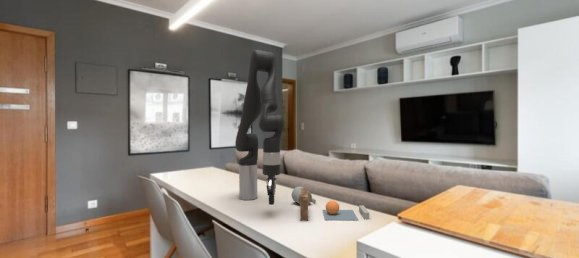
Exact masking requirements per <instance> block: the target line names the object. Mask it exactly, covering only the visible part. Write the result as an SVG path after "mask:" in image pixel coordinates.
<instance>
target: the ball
mask: <svg viewBox="0 0 579 258" xmlns="http://www.w3.org/2000/svg"><path fill="white" fill-rule="evenodd" d="M325 210H327V212H328V213H329V214H336V213H338V211H339V210H340V205H339V203H338V202H337V201H336V200H329V201H327V203H326V205H325Z"/></svg>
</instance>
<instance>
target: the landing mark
mask: <svg viewBox="0 0 579 258" xmlns="http://www.w3.org/2000/svg"><path fill="white" fill-rule="evenodd" d="M322 214H323V218H324V221H359V218H358V217H357V215H356V213H355V211H354V209H339V211H338V213H336V214H329V213H328V212H327V210H326V209H322Z"/></svg>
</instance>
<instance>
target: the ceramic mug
mask: <svg viewBox="0 0 579 258" xmlns="http://www.w3.org/2000/svg"><path fill="white" fill-rule="evenodd" d="M301 188H304V187H303V186H296V187H295V188H293V190H292V192H291V199H292V200H293V201H294V202H295V203H297V204H299V205H300V189H301ZM316 201H317V200H316V199H315V198H313V195H312V193H311V192H310V191H309V190H308V205H310V204H311V203H312V204H315V203H316Z"/></svg>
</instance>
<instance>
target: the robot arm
mask: <svg viewBox="0 0 579 258" xmlns="http://www.w3.org/2000/svg"><path fill="white" fill-rule="evenodd" d="M248 66H249V68H248V77H247V85H246V87H245V88H246V90H245V95H244V99H243V104H242V110H241V117H240V123H239V124H238V125H239V126H238V130H237V131H236V132H237V133H236V137H235V144H234V145H235V149H236V151H237V152H240V153H241V152H242V153H244V152H247V154H246V155H245V156H244V157H241V158H240V159H239V160H238V166H239V167H238V172H239V173H238V174H239V175H238V183H239V184H238V185H239V190H238V191H239V193H238V194H239V195H238V196H239V199H240V200H243V201H252V200H255V199H258V161H259V137H258V135H257V134H256V133H253V132H252V133H248V132H249V129H250V128H251V125H253V123H254V122H255V121H256V120H257V119H258V118H259V121H258V127H259V129H260V131H262V132H264V133H273V135H271V136H269V137H265V138H264V139H263V140H262V141H263V142H262V143H263V144H262V150H263V153H262V174H263V176H267V179H265V181H266V182H265V183H266V191H267V196H268V205H269V206H272V205H274V204H275V194H276V189H277V181H278V180H277V179H278V177H276V176H279V175H281V173H282V171H281V169H282V168H281V167H282V166H281V164H282V163H281V161H282V159H281V141H282V140H281V139H282V137H283V136H282V135H283V132H284V130H285V129H284V128H285V124H286V123H285V122H286V121H285V119H284V117H283V116H282V115H280V114H271V113H274V112H276V111H277V110H278V106H279V105H278V98H277V89H276V88H277V87H276V86H277V59H276V55H275V54H274V53H273V52H271V51H266V50H261V49H254V50H253V51H252V52H251V55H250V59H249V65H248ZM258 72H262V73H267V79H266V80H265V82H264V83H263V85H262V87H260V85H259V82H258Z"/></svg>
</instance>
